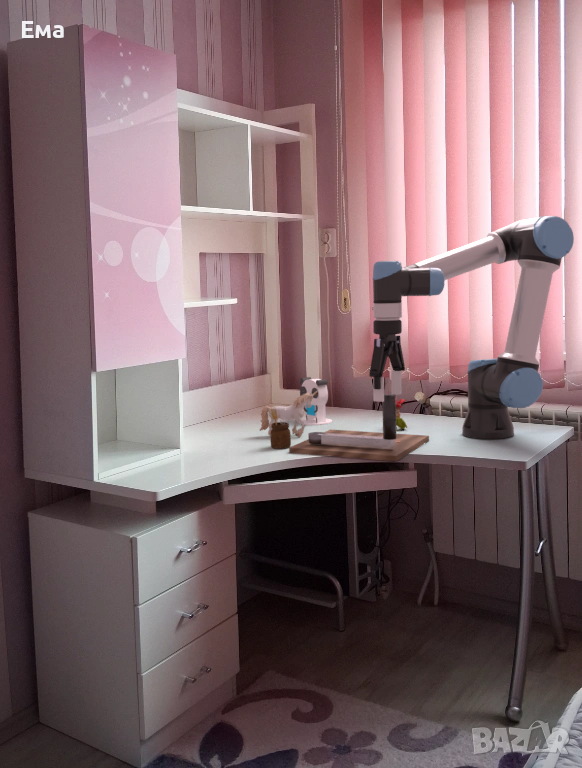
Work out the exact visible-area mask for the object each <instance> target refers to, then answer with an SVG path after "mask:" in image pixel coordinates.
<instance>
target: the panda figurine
mask: <svg viewBox="0 0 582 768" xmlns="http://www.w3.org/2000/svg"><path fill="white" fill-rule="evenodd" d="M299 385H300V388H299V389H300V390H299V397H300V396H301V395H303V394H306V393H309V394H310V395H312V394H313V393H314V392H316V391H317V390H318V392H317V393H316V394H315V395H314V396H313V399H312V401H311V405H312V406H311V407H310V408H308V407H307V404H305V407H304V413H305V418H304V419H302V420H303V422H304V423H305V426H322V425H323V426H324V425H328V424H333V419H330V418H327V416H326V415H327V413H326V404H327V403H328V400H329V390H328V386H327V385H328V380H327V378H326V379H325V378H323V379H321V378H312V377H311V376H306V377H300V379H299Z"/></svg>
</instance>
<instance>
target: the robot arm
mask: <svg viewBox="0 0 582 768" xmlns="http://www.w3.org/2000/svg"><path fill="white" fill-rule="evenodd" d="M574 239H575V238H574V232H573V229H572V227H571V226H570V224H569V223H568V222H567V221H566V220H565V219H564V218H562V217H561V216H558V215H557V216H556V215H543V216H538V217H531V218H525V219H520V220H518V221H515V222H513V223H511V224H509V225H507V226H503V227H501V228H498V229H496V230H493V231H491V232H490V233H488V234H487V235H486V237H485V238H482V239H479V240H476V241H474V242H471V243H468V244H465V245H463V246H460V247H458V248H455V249H452V250H449V251H446V252H443V253H441V254H438V255H435V256H432V257H430V258H429V257H428V258H426V259H423V260H421V261H418V262H416V263H413V264H410V265H406V266H404V267H403V266H402V262H401V261H399V260H381V261H379V260H378V261H376V262H374V264H373V269H372V291H373V293H372V295H373V296H372V297H373V299H372V300H373V302H372V303H373V306H372V308H371V310H372V311H373V323H372V324H373V328H372V329H373V330H372V331H373V334H375V335H379V336H378V338H374V341H373V351H372V356H371V361H370V369H369V377H372V382H373V383H372V386H373V387H372V388H373V390H372V391H373V392H372V395H373V396H372V397H373V398H372V399H373V402H380V403H381V402H384V394H385V377H384V375H383V374H384V370H385V368H386V363H387V359H388V360H389V363H390V365H391V369H392V370H391V375H390V377H391V381H390V384H391V393H390V394H395V395H396V396H397V395H398V396H400V395H402V394H403V392H402V391H403V390H402V389H403V388H402V385H403V384H402V379H403V378H402V372H404V371H406V370H405V369H406V367H405V365H406V364H405V360H404V353H403V349H402V345H401V333H402V331H403V327H402V325H403V324H402V320H401V318H402V317H403V315H402V313H403V312H402V310H403V309H402V305H403V304H402V303H403V302H402V301H403V300H402V299H403V298H402V297H431V296H439V295H440V294H441V293H442V292H443V291H444V288H445V281H446V280H449V279H452V278H456V277H457V276H460V275H463V274H465V273H470V272H472V271H474V270H477V269H480V268H482V267H486V266H488V265H491V264H497V265H502V264H504V263H507V262H511V261H517V263H518V265H519V267H520V268H521V269H520V276H519V279H518V280H519V281H518V285H517V290H516V295H515V299H514V303H513V309H512V314H511V319H510V323H509V327H508V333H507V337H506V341H505V342H506V343H505V347H504V350H503V352H502V353H501V354H499V355H497V358H485V359H484V358H483V359H476V360H475V359H474V360H470V361H469V363H468V366H467V401H468V402H467V404H468V405H467V412H466V414H465V418H464V420H463V424H462V429H461V430H462V431H461V432H462V433H461V434H462V435H463V436H464V437H468V438H473V439H482V440H499V439H507V438H511V437H513V436H514V435H515V434H514V433H515V428H514V425H513V422H512V418H511V415H510V412H509V408H513V409H526V408H528V407H530V406H532V405H533V404H535V403H536V402H537V401H538V400H539V398H540V397H541V395H542V393H543V388H544V382H543V378H542V377H541V376H542V375H541V374H540V373H539V369H540V362H539V360H538V359H537V358H536V356H537V351H538V347H539V340H540V336H541V332H542V327H543V321H544V316H545V312H546V308H547V307H546V306H547V302H548V299H549V292H550V289H551V284H552V278H553V276H554V275H553V274H554V273H555V272H556V271H557V270H559V269H560V267H561V263H562V259H563V258H564V257H566V256H567V255H568V254H569V253H570V252H571V251H572V248H573V246H574Z"/></svg>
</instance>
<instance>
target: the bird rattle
mask: <svg viewBox="0 0 582 768" xmlns="http://www.w3.org/2000/svg"><path fill="white" fill-rule="evenodd" d="M405 402H406V399H404V398H400V399H399V400H398V399H397V398H396V427H398V428H400V429H401V430H404V429H408V426H407V423H406V421H405V420H404V419H403V418H402V417H401V413H400V410H401V409H402V408H403V407H402V404H403V403H405Z"/></svg>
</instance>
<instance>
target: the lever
mask: <svg viewBox="0 0 582 768" xmlns="http://www.w3.org/2000/svg"><path fill="white" fill-rule="evenodd" d="M396 399H397V395H396V394H391V393H384V402H382V433H383V437H379V436H363V435H348V434H333V433H324V432H325V431H324V432H323V431H313V432H309V433H308V439H309V443H310V444H333V445H346V446H360V447H374V448H388V449H392V448H394V447H395V439H396V434H397V426H396Z"/></svg>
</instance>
